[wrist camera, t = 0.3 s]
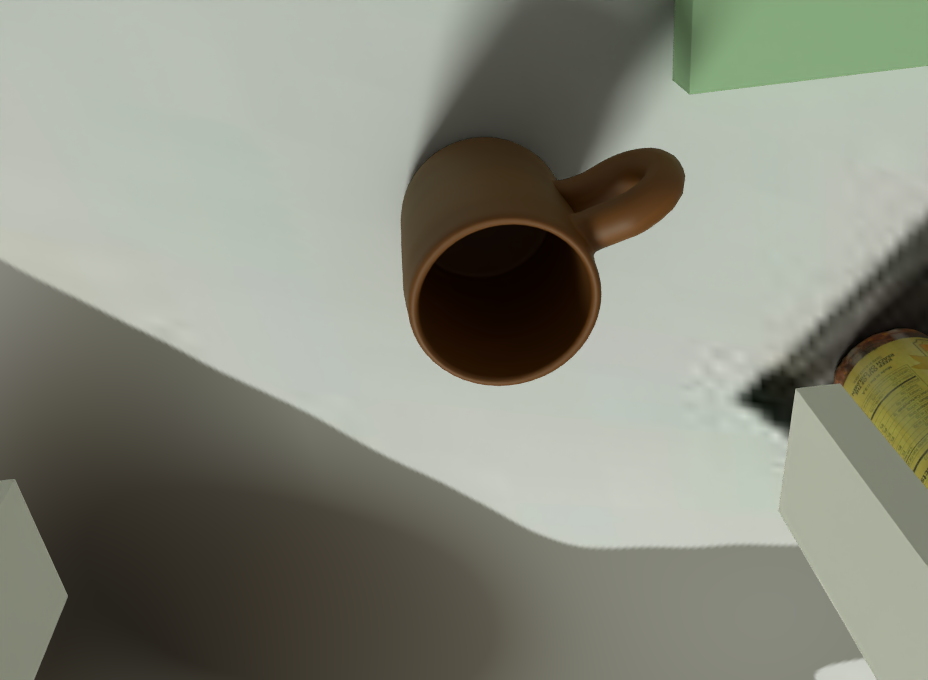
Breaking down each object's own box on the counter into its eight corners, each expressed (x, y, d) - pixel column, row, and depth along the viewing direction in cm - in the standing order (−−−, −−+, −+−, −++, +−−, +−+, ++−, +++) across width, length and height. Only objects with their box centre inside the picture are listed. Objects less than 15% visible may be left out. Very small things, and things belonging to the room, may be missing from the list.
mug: (592, 37, 37) (651, 96, 29) (671, 176, 40) (744, 264, 32) (366, 193, 39) (362, 287, 31) (458, 310, 43) (477, 422, 35)
